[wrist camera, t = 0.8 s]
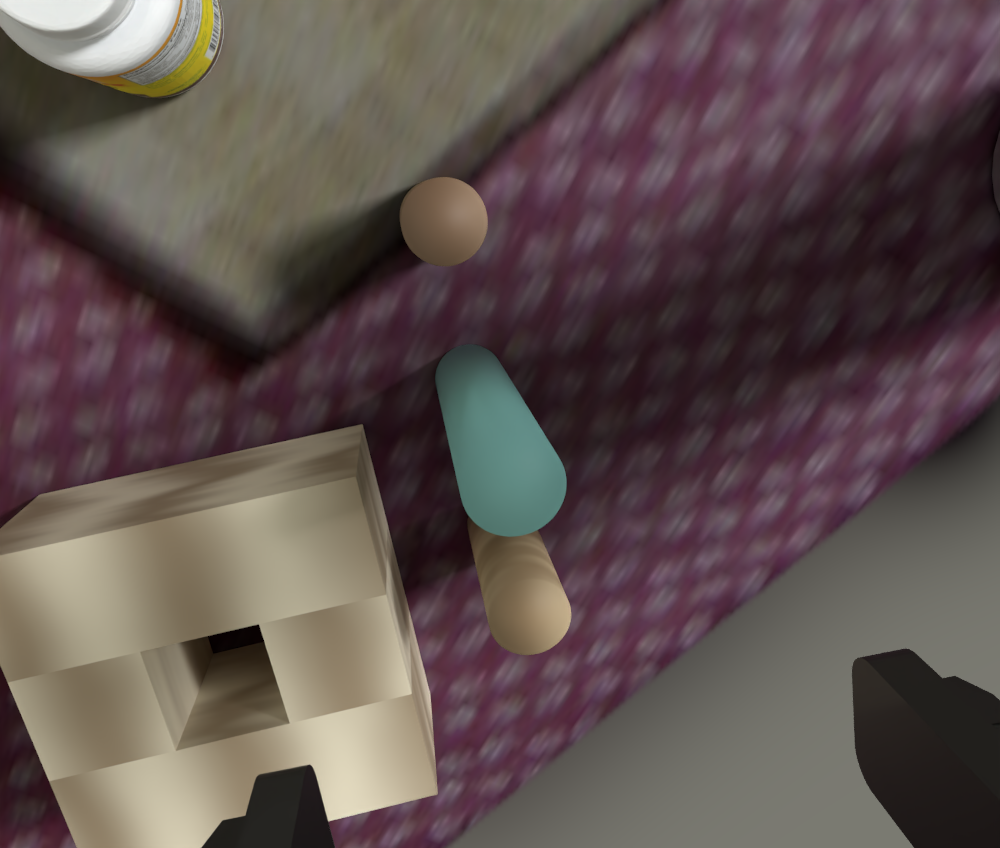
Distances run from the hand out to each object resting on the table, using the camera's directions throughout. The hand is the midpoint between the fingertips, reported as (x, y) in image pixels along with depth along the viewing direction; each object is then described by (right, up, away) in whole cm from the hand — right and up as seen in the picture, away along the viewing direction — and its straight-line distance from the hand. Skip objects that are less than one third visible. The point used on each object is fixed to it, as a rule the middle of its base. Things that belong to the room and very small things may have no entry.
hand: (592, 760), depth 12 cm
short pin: (-4, +13, +22) cm, 27 cm away
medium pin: (-1, 0, +26) cm, 27 cm away
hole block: (-13, -3, +26) cm, 29 cm away
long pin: (-3, +7, +24) cm, 26 cm away
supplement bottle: (-15, +20, +19) cm, 31 cm away
